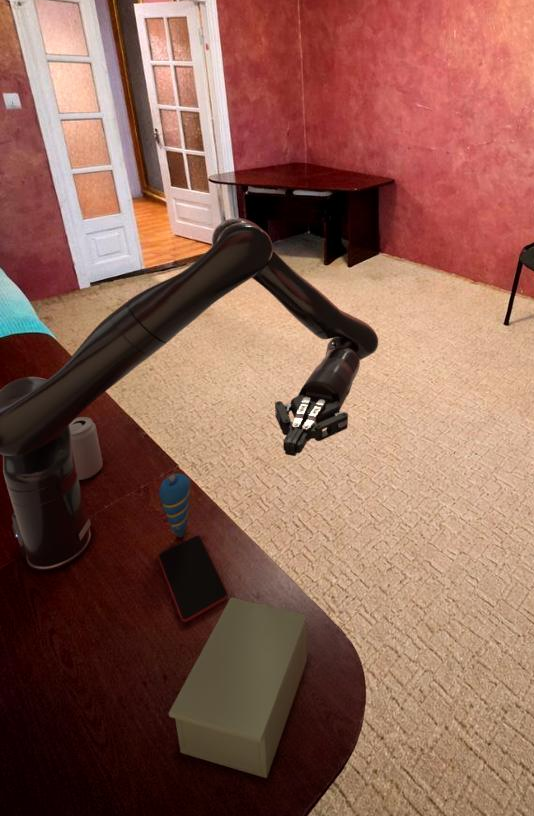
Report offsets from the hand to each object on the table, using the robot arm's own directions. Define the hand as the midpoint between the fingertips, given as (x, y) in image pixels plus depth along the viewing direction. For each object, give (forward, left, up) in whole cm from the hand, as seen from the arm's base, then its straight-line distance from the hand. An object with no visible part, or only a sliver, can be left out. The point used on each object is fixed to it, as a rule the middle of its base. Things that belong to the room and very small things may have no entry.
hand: (289, 450), depth 70 cm
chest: (0, -16, -30) cm, 34 cm away
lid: (0, -16, -21) cm, 26 cm away
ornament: (-24, +6, -30) cm, 39 cm away
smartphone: (-18, -1, -30) cm, 35 cm away
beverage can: (-53, +16, -30) cm, 63 cm away
